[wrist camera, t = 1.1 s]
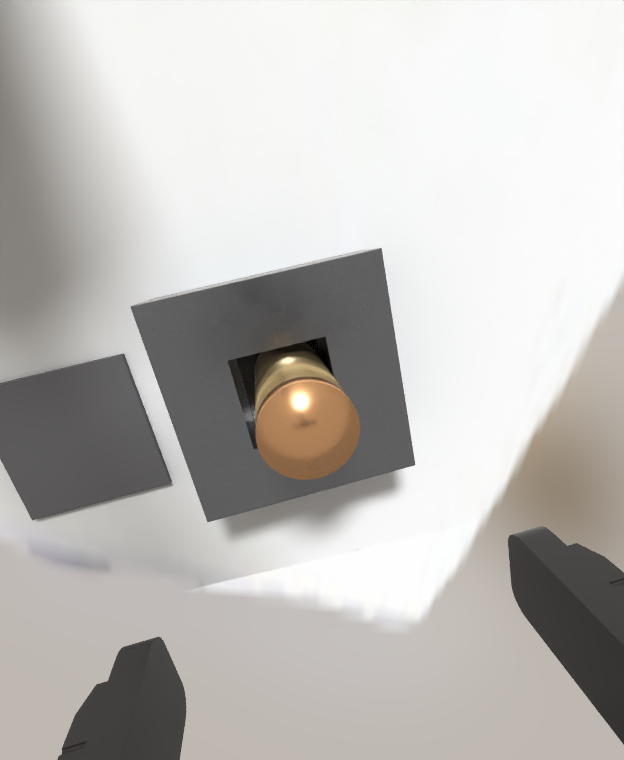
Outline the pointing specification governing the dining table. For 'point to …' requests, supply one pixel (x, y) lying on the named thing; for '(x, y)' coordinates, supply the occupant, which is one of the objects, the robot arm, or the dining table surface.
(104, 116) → the dining table surface
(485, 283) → the dining table surface
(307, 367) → the brass cylinder
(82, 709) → the robot arm
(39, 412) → the mat
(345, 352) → the housing
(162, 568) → the dining table surface
